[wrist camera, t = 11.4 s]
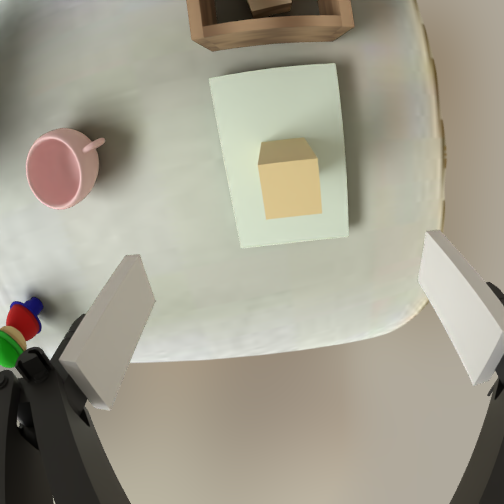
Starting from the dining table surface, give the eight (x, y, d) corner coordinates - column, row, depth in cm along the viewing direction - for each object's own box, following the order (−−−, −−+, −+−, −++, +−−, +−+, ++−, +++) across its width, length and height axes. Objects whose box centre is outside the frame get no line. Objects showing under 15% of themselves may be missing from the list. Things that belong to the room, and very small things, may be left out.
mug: (70, 205, 39) (47, 224, 34) (39, 147, 34) (13, 159, 29) (133, 168, 36) (112, 183, 31) (99, 100, 31) (73, 106, 26)
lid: (242, 238, 40) (231, 300, 29) (212, 79, 30) (182, 75, 20) (344, 227, 39) (370, 286, 28) (330, 64, 29) (362, 54, 18)
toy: (39, 287, 47) (-6, 342, 34) (62, 323, 51) (26, 380, 38) (14, 292, 48) (-27, 342, 35) (35, 325, 52) (1, 376, 39)
